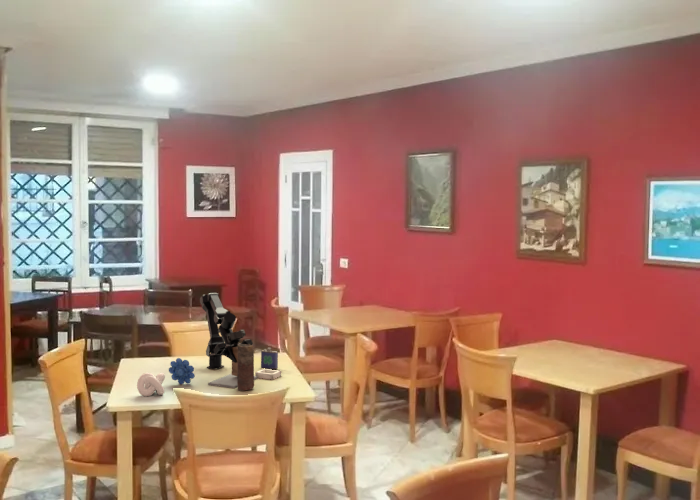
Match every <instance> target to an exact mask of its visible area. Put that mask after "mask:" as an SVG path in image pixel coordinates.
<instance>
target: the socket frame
mask: <svg viewBox="0 0 700 500" xmlns="http://www.w3.org/2000/svg"><path fill="white" fill-rule="evenodd" d="M254 376H258V378H257V379H262V378H263V380H270V379H271V380H273V379H274V380H276V379H278V378H280V377H282V370H278V369H277V370H272V369H262V368H261V369H260V370H258V371H254ZM279 376H280V377H279ZM277 377H278V378H277ZM275 378H276V379H275Z"/></svg>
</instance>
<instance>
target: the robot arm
mask: <svg viewBox="0 0 700 500" xmlns="http://www.w3.org/2000/svg"><path fill="white" fill-rule="evenodd" d="M199 303H200V305H201V309H202V310H203V311H204V312H205V314H206V319H207V326H208V331H209V337H210V338H209V341H207V342H208V343H207V347H206V350H205V355H206V357H208V366H206V369H213V370H219V369H222V368H224V367H225V365H222V363H223V362H222V360H223V359H222V356H225V357H226V358H228V359H229V360H231V362H232V361H233V362H235V363H236V362H237V361H236V358H235V356H234V354H233V352H232V347H237V346H238V344H246V345H247V344H250V345H252V346H253V344H254V343H253V341H252V339H247V338H246V339H243V338H244V337H246V331H245V329H240V330H239V331H238V330H237V331H234V330H233V328H234V325H235V323H236V320H237V316H236V315H235V314H234V313H232V312H231V311H229V310H228V309H226V308H224V305H223V304H222V302H221V299H220V296H219V292H218V293H217V292H210V293H207V294H202V295H201V296H200V298H199ZM241 339H243V340H242V342H241ZM240 342H241V343H240Z"/></svg>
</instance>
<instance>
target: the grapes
mask: <svg viewBox="0 0 700 500" xmlns="http://www.w3.org/2000/svg"><path fill="white" fill-rule="evenodd" d="M169 365H170V366H169V368H168V373H170V374H171V380H173V381H177V383H178V384H179V385H183V384H184V383H185V384H188V385H189V384H190V383H191V382H192V381H191V380H192V379H195V376H196V374H195V373H194V371H195V367H194V366H193V365H192V364H190V362H189V360H188V359H182V358H181V357H178V358H176V360H171V361H170V363H169Z"/></svg>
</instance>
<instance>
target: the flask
mask: <svg viewBox="0 0 700 500" xmlns="http://www.w3.org/2000/svg"><path fill="white" fill-rule="evenodd" d="M271 349H272V347H267V349H266V348H264V349H262V350H261V351H260V355H261V357H260V369H262V368H265V369H270V370H272V369H277V370H278V368H279V367H278V366H279V365H278V362H279V361H278V359H279V358H278V357H279V352H278V351H276V350H271Z"/></svg>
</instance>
